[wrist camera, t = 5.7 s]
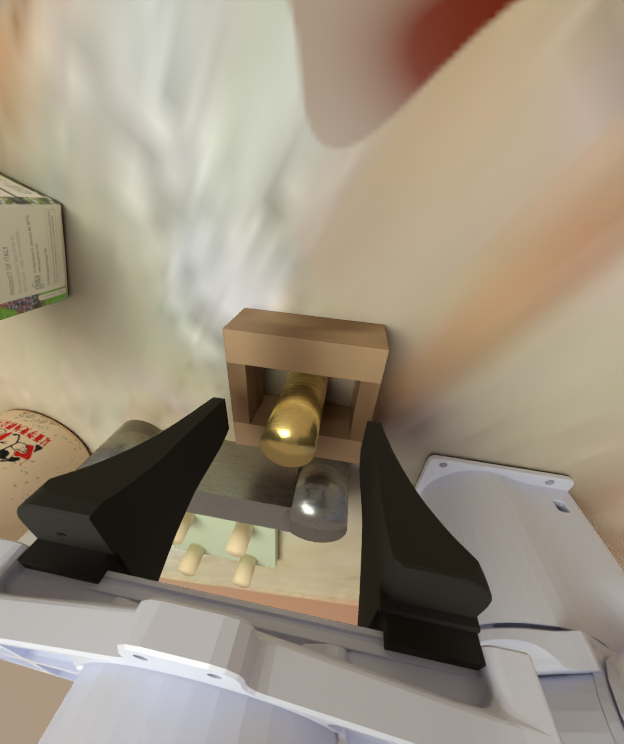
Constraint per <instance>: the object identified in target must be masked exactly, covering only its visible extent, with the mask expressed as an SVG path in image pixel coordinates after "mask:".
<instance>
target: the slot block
mask: <svg viewBox="0 0 624 744" xmlns="http://www.w3.org/2000/svg"><path fill="white" fill-rule="evenodd" d="M223 336H224V345H225V353H226V362H227V370H228V379H229V387H230V395H231V404H232V412H233V421H234V429H235V438H236V443H237V444H243V445H249V446H255V447H261V446H260V440H261V437H262V435H263V432H264V430H265V428H266V425H267V423H268V421H269V418H270V416H271V414H272V411H273V409H274V407H275V404H276V402H277V400H278V396H271V395H265V394H264V372H263V367H264V368H271V369H278V370H285V371H292V372H300V373H307V374H314V375H321V376H328V377H335V378H342V379H349V380H356V381H355V387H354V392H353V397H352V403H351V407H345V406H338V405H332V404H325V403H324V406H323V412H322V417H321V423H320V428H319V434H318V439H317V444H316V450H315V455H314V457H320V458H326V459H332V460H338V461H344V462H350V463H356V464H360V450H361V445H362V441H363V437H364V433H365V429H366V424H367V421H372V417H373V413H374V409H375V405H376V401H377V397H378V393H379V389H380V385H381V381H382V377H383V373H384V369H385V365H386V361H387V357H388V353H389V347H388V341H387V335H386V330H385V325H380V324H372V323H364V322H355V321H347V320H339V319H331V318H322V317H314V316H306V315H298V314H289V313H281V312H273V311H265V310H256V309H248V308H244V309H243V310H242V311H241V312H240V313H239V314H238V315H237V316H236V317H235V318H233V319H232V320H231V321H230V322H229V323H228V324H227V325H226V326H225V327H224V328H223Z"/></svg>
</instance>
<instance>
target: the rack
mask: <svg viewBox="0 0 624 744" xmlns="http://www.w3.org/2000/svg"><path fill="white" fill-rule="evenodd" d="M173 545H174V548H178V549H183V550H187V552H186V554H185V556H184V558H183V560H182V562H181V564H180V566H179V568H178V571H179V572H180V573H182V574H184V575H187V576H194V574H195V572H196V570H197V567H198V565H199V563H200V561H201V558H202V556H203V554H207V555H212V556H217V557H221V558H226V559H231V560H236V561H239V564H238V567H237V570H236V573H235V576H234V579H233V584H235V585H236V586H238V587H242V588H248V587H249V586H250V582H251V579H252V575H253V572H254V569H255V565H260V566H264V567H269V568H274V569H276V564H277V560H278V530H277V529H272V528H266V527H261V526H256V525H251V524H246V523H241V522H235V521H230V520H225V519H220V518H215V517H209V516H204V515H199V514H194V513H189V512H186V513H185V515H184V517H183V520H182V522H181V524H180V527H179V529H178V531H177V534H176V536H175V539H174V541H173Z"/></svg>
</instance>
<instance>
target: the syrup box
mask: <svg viewBox="0 0 624 744" xmlns="http://www.w3.org/2000/svg"><path fill="white" fill-rule="evenodd" d="M67 296H68V291H67V275H66V260H65V247H64V237H63V225H62V215H61V205H60V204H59V203H58V202H56V201H55V200H53V199H51V198H49V197H47V196H45V195H43V194H41V193H39V192H36V191H35V190H33V189H30V188H29V187H26V186H24V185H23V184H20V183H18V182H16V181H14V180H12V179H10V178H8V177H6V176H4V175H2V174H0V320H2V319H5V318H8V317H11V316H14V315H17V314H20V313H24V312H27V311H30V310H33V309H36V308H39V307H42V306H45V305H48V304H51V303H55V302H58V301H61V300H64V299H66V298H67Z"/></svg>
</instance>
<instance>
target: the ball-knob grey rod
mask: <svg viewBox="0 0 624 744" xmlns="http://www.w3.org/2000/svg"><path fill="white" fill-rule="evenodd" d="M162 431H164V430H160V429H158V428H157V427H155V426H154V425H152V424H150V423H147V422H144V421H140V420H130V421H127V422H125V423H124V424H123V425H122V426H121V427H120V428H119V429H118V430H117V431H116V432H115V433H114V434H113V435H112V436H111V437H109V438H108V439H107V440H106V441H105V442H104V443H103V444H102V445H101V446H100V447H99V448H98V449H97V450H96V451H95V452H94V453H93V454H92V455H91V456H89V457H88V458H87V459H86V460H85V461H84V462H83V463H82V464H81V465H80V466H79V467H78V468H77V469H76V470H78V469H81V468H84V467H87V466H90V465H92V464H95V463H98V462H100V461H103V460H105V459H108V458H110V457H113V456H115V455H117V454H119V453H122V452H124V451H126V450H128V449H130V448H133V447H135V446H137V445H139V444H141V443H143V442H145V441H146V440H148V439H150V438H152V437H154V436H156V435H157V434H159V433H161V432H162ZM348 494H349V466H348V464H347V463H346V462H344V461H338V460H332V459H326V458H320V457H313V459H312V460H311V461H310V462H309V463H308V464H306V465H304V466H300V467H285V466H281V465H279V464H276V463H274V462H273V461H271V460H270V459H269V458H267V457H266V456H265V454H264V453H263V451H262V449H261V447H255V446H249V445H243V444H237V443H236V442H232V441H226V440H224V442H223V444H222V446H221V448H220V450H219V451H218V453H217V455H216V457H215V458H214V460H213V462H212V463H211V465H210V467H209V469H208V470H207V472H206V474H205V475H204V477H203V479H202V480H201V482H200V484H199V486H198V488H197V489H196V491H195V493H194V495H193V498H192V500H191V502H190V504H189V506H188V508H187V511H186V512H189V513H194V514H199V515H204V516H209V517H215V518H220V519H225V520H230V521H235V522H241V523H246V524H251V525H256V526H261V527H266V528H272V529H277V530H282V531H287V532H289V531H290V532H291V533H292V534H294V535H296V536H297V537H300V538H302V539H305V540H308V541H313V542H333V541H336V540H339V539H341V538H342V537H343V536H344V535H345V534H346V532H347V516H348Z"/></svg>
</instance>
